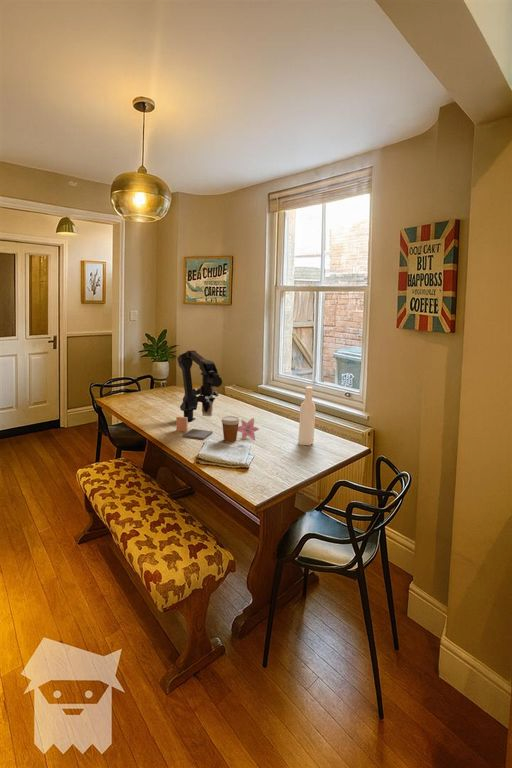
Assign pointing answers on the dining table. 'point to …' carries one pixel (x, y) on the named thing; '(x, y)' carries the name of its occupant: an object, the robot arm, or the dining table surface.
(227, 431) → the disposable coffee cup
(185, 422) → the tile
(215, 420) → the dining table surface
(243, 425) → the lily
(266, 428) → the dining table surface
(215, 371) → the robot arm
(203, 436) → the rest mat
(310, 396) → the bottle
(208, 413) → the brown wooden block
